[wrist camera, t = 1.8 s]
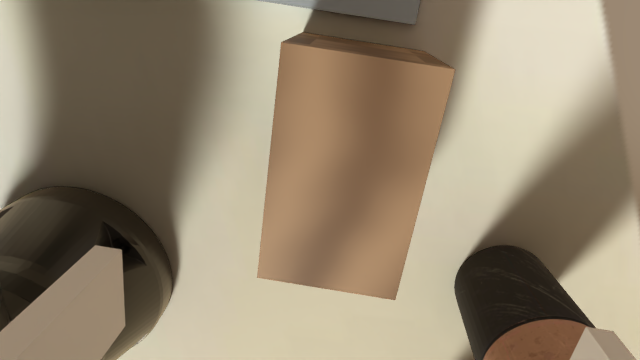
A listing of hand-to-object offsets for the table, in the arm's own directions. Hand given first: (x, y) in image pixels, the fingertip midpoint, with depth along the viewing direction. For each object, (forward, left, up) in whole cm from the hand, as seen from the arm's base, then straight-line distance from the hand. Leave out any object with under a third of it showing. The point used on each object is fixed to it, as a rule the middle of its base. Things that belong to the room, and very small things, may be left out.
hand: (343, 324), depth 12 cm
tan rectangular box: (0, 0, -19) cm, 19 cm away
